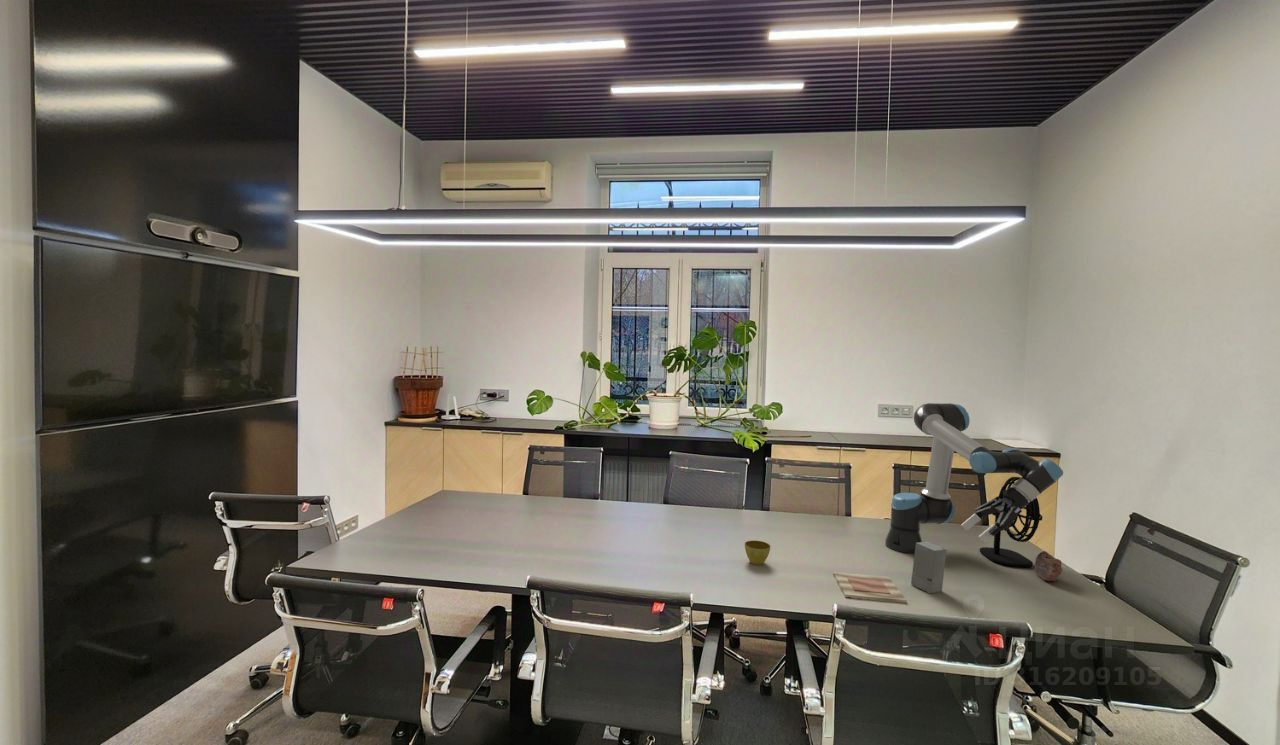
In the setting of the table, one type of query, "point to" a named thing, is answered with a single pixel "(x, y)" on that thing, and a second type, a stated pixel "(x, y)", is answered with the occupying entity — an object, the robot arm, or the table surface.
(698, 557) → the table surface
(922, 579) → the skincare box
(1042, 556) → the stone
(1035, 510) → the desk fan
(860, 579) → the seat board
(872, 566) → the table surface
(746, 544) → the flower pot
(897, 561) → the table surface
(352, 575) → the table surface
